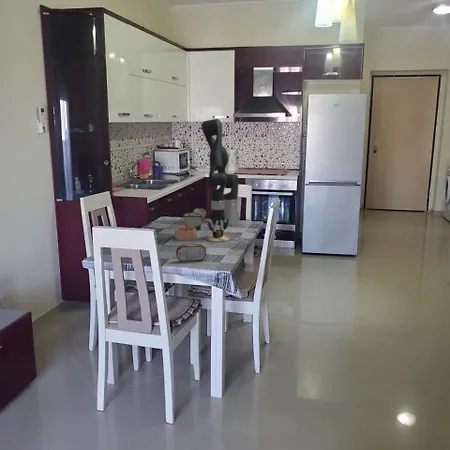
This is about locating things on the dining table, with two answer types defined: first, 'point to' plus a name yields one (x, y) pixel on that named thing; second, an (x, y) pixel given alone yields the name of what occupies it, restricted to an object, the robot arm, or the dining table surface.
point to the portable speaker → (191, 252)
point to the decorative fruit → (200, 212)
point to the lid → (218, 237)
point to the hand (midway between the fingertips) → (218, 236)
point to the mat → (217, 242)
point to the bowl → (185, 233)
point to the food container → (193, 220)
